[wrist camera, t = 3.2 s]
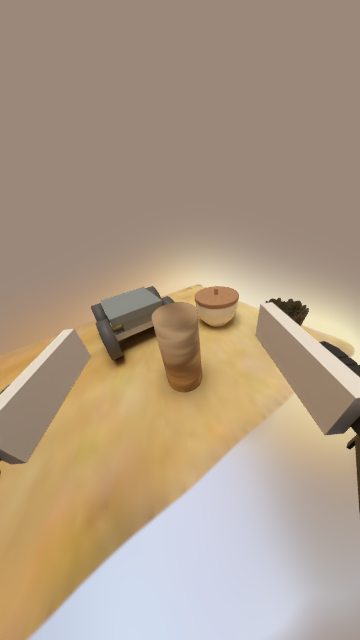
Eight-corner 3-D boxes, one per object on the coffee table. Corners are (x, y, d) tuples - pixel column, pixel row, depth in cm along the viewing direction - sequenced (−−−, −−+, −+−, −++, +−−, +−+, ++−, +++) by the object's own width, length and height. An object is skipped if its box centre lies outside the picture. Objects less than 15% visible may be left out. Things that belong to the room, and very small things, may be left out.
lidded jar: (245, 322, 41) (249, 288, 36) (211, 337, 38) (210, 303, 33) (219, 306, 49) (220, 277, 44) (189, 318, 46) (186, 288, 41)
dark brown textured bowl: (256, 343, 34) (261, 312, 30) (260, 325, 39) (265, 295, 35) (297, 353, 31) (311, 319, 26) (296, 331, 36) (307, 299, 32)
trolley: (116, 368, 33) (98, 333, 28) (102, 328, 48) (88, 299, 42) (183, 334, 40) (179, 301, 35) (154, 308, 54) (147, 281, 49)
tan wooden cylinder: (179, 399, 26) (164, 333, 18) (162, 373, 31) (144, 312, 23) (209, 378, 29) (207, 313, 21) (189, 358, 33) (181, 298, 26)
